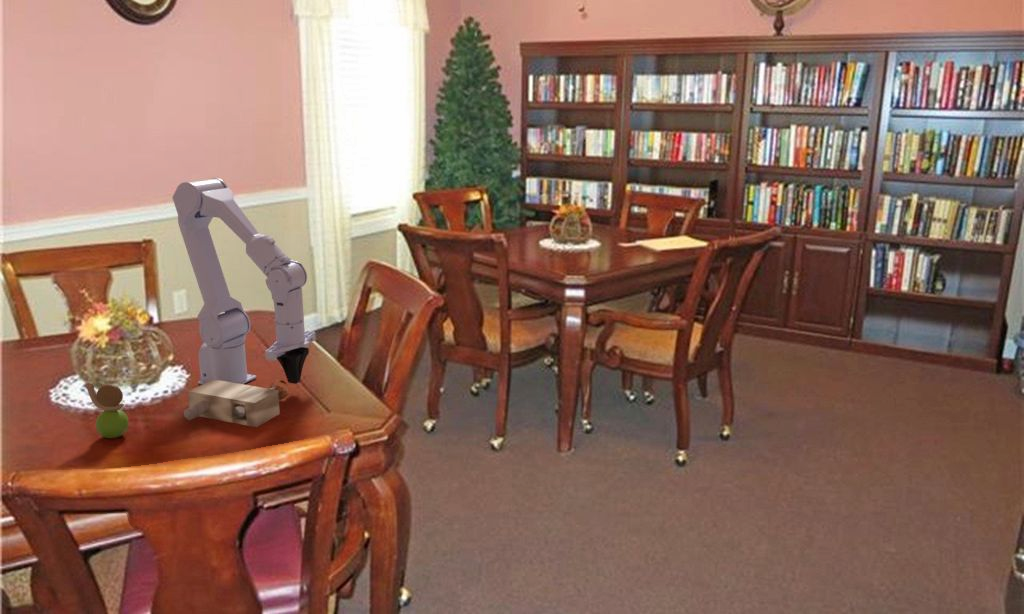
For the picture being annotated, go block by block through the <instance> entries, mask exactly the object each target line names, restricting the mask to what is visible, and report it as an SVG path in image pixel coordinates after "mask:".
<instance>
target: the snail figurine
mask: <svg viewBox="0 0 1024 614" xmlns="http://www.w3.org/2000/svg"><path fill="white" fill-rule="evenodd" d="M88 379H89V375H85V377H83V380H84V381H85V389H86V390H87V392H88V395H89V398H90V400H91V402H92V404H93V405H94V406H95V407H96V408H98V409H99V410H103V411H102V412H101V413H100V414H98V416H97V418H96V420H95V429H96V431H97V433H98V434H99V435H100V436H102V437H104V438H106V439H116V438H119V437H121V436H122V435H124V434H125V433H126V432H127V430H128V428H129V424H130V423H129V421H130V420H129V417H128V415H127V414H126V412H125V411H123V410H121V409H122V408H123V407H124V406H125V404H124V403H121V402H122V400H123V399H124V395H123V391H122V390H121V387H119V386H117V385H116V384H113V383H112V384H111V383H107V384H103V385H101V386H100V387H99V388H98V389H97V392H96V390H95V384H94V383H93V382H92V381H88Z"/></svg>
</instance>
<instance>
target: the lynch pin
mask: <svg viewBox="0 0 1024 614" xmlns="http://www.w3.org/2000/svg"><path fill="white" fill-rule="evenodd" d="M269 389H273V390H278V397H279V401H280V400H284V399H286V398H287V397H288V395H289V394H290V388H289V385H288V384H287V382H286V381H284V380H282V379H277V380H274V381H273V382H271V384H270V386H269ZM234 413H235V415H236V416H237V417H243V416H244V415H246V409H245V405H239V406H237V407H235V408H234Z"/></svg>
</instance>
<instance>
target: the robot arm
mask: <svg viewBox="0 0 1024 614" xmlns="http://www.w3.org/2000/svg"><path fill="white" fill-rule="evenodd" d="M173 193H174V194H173V195H172V201H173V204H174V206H175V210H176V213H177V223H178V227H179V229H180V230H179V231H180V234H181V236H182V239H183V243H184V245H185V248H186V251H187V252H186V253H187V255H188V258H189V261H190V263H191V267H192V269H193V273H194V276H195V279H196V282H197V285H198V289H199V291H200V295H201V298H202V300H203V306H202V308H200V310H199V312H198V314H197V318H198V322H199V329H198V330H199V336H200V338H201V340H202V341H203V344H202V345H201V346H200V348H199V351H198V365H199V372H200V373H199V374H200V380H198V382H197V383H198V384H200V385H202V384H204V383H206V382H208V381H210V380H212V379H214V380H220V381H226V382H232V383H238V384H244V385H246V384H247V383H248V382H250V381H253V380H254V379H256V378H257V375H255V374H249V373H248V368H247V359H246V358H247V357H246V346H245V341H246V340H247V334H248V333H249V332H250V331H251V326H252V325H251V324H252V323H251V319H250V317H249V315H248V314H247V313H246V311H245V310H244V307H243V306H242V303H241V301H239V300H238V299H235V298H233V297H232V296H231V293H230V291H229V288H228V285H227V282H226V279H225V275H224V272H223V269H222V266H221V263H220V261H219V260H220V259H219V256H218V254H217V250H216V247H215V245H214V242H213V241H214V240H213V238H212V235H211V232H210V228H209V226H210V224H211V222H212V219H213V218H218V219H220V220H221V221H222V222H223V223H224V224H225V225H226V226H227V227H228V228H229V229H230V230H231V231H232V232H233V233H234V234H235V235H236V236H237V237H238V238H239V239H240V240H241V241H242V242H243V243H244V244H245V254H246V255H247V256H248V257H249V258H250V260H252V262H253V263H254V264H255V265H256V267H258V268H259V270H260V271H261V272H262V273H263V274H264V275H265V277H266V278H265V283H266V287H267V288H268V291H270V293H271V294H270V295H271V299H272V301H273V305H274V306H273V307H274V308H273V309H274V318H275V319H274V320H275V337H276V341H275V342H274V343H273V344H272V345H271V346H270V347H269V348H268V349H265V350H264V353H265V361H272V362H273V361H276V360H277V361H278V362H279V363H280V365H281V367H282V369H283V371H284V374H285V376H286V379H287V380H286V381H287V382H288V383H289V384H294V385H297V384H298V383H300V382H301V378H302V372H303V368H304V364H305V361H306V359H307V356H308V355H309V353H310V350H309V346H310V342H315V341H316V337H317V336H316V331H310V330H305V318H304V317H305V316H304V301H303V288H302V287H304V286H305V285H306V283H307V280H308V275H307V273H308V272H307V271H306V269H305V267H304V265H303V264H302V263H301V262H300V261H296V260H293V259H291V258H289V257H288V256H287V255H286V253H284V251H282V249H280V247H279V246H278V244H276V240H275V239H274V238H273V237H271V236H269V235H268V234H261V233H260V232H259V231H258V230H257V229H256V227H255V226H254V224H253V223H252V222H251V221H250V220H249V218H248V216H247V215H246V214H245V213H244V211H243V210H242V209H241V208H240V206H239V205H238V204H237V202H236V200H235V199H234V192H233V190H232V189H230V188H229V186H228V185H227V184H226V182H225V181H224V180H223V179H221V178H218V177H213V178H210V179H205V180H197V181H190V182H189V181H184V182H181V183H179V184H178V186H177V187H176V189H175V191H174V192H173Z"/></svg>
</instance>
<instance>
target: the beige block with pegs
mask: <svg viewBox="0 0 1024 614" xmlns="http://www.w3.org/2000/svg"><path fill="white" fill-rule="evenodd" d="M187 395H188V404H189V405H188V406H189V407H188V408H186V409H184V411H183V416H184V418H185V419H186V420H188V421H191V420H194V419H195V418H198V417H201V418H206V419H210V420H215V421H216V420H217V421H223V422H226V423H227V422H228V423H233V424H237V425H243V426H248V427H251V428H259V426H262V425H263V424H265V423H266V422H268V421H270V420H271V419H274V418H275V417H277V416H279V415H280V410H281V409H280V400H279V397H278V390H273V389H270V388H266V387H261V386H255V385H249V384H238V383H232V382H226V381H220V380H214V379H212V380H210V381H208V382H206V383H204V384H200V385H198V386H196V387H194V388H192V389H189V390H187ZM239 405H245V409H246V415H244V416H243V417H237V416H236V415H235V413H234V408H235V407H237V406H239Z"/></svg>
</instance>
